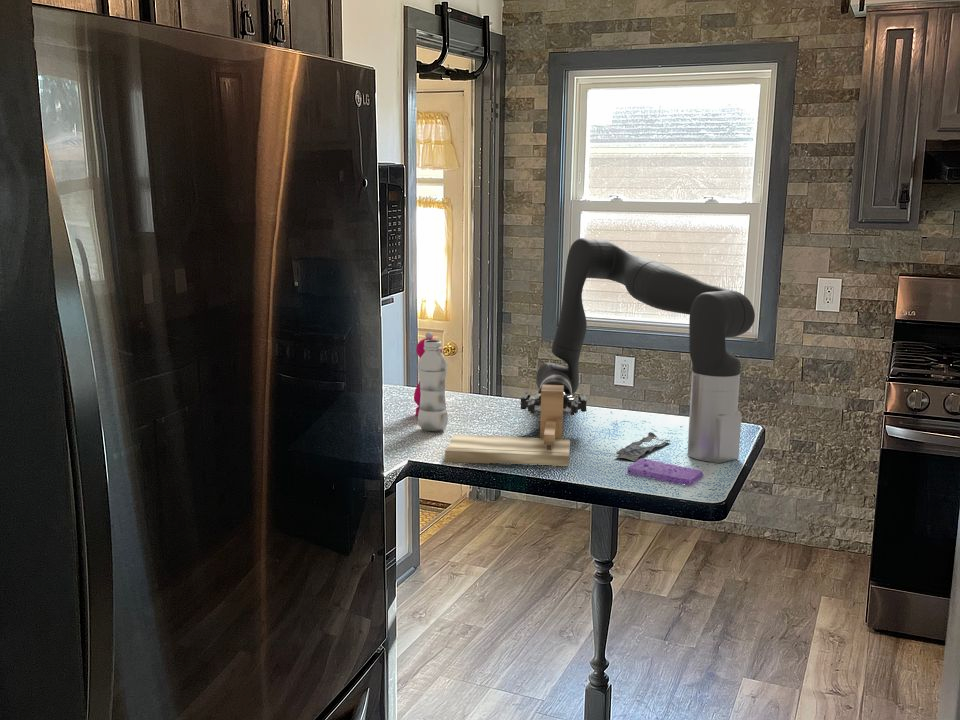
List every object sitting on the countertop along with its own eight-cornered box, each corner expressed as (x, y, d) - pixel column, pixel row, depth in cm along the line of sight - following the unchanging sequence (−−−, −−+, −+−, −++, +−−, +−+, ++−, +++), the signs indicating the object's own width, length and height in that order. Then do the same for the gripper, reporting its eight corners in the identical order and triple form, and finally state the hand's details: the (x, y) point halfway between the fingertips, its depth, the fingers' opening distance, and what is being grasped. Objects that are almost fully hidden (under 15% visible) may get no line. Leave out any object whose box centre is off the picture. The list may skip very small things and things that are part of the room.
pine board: (454, 444, 182) (454, 434, 182) (569, 449, 179) (570, 439, 179) (445, 461, 170) (445, 450, 170) (568, 467, 168) (569, 455, 167)
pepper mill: (443, 419, 203) (443, 334, 199) (412, 419, 203) (412, 334, 199) (445, 412, 210) (445, 329, 206) (415, 411, 210) (415, 329, 206)
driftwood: (634, 466, 171) (634, 455, 170) (603, 459, 174) (603, 449, 174) (677, 444, 187) (678, 435, 187) (649, 439, 191) (649, 429, 191)
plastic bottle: (441, 435, 189) (442, 344, 185) (413, 432, 191) (412, 342, 187) (452, 428, 195) (452, 339, 191) (424, 425, 197) (424, 338, 193)
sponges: (641, 466, 170) (641, 457, 170) (703, 479, 163) (704, 469, 163) (625, 476, 164) (626, 466, 164) (690, 488, 157) (690, 478, 157)
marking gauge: (541, 439, 187) (542, 384, 185) (562, 440, 186) (563, 385, 184) (536, 464, 169) (538, 404, 167) (560, 465, 169) (561, 405, 167)
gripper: (524, 376, 200) (519, 391, 184) (587, 378, 198) (587, 393, 182) (523, 408, 201) (518, 425, 185) (586, 410, 199) (586, 428, 183)
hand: (552, 409), depth 184 cm, fingers open, 8 cm apart
